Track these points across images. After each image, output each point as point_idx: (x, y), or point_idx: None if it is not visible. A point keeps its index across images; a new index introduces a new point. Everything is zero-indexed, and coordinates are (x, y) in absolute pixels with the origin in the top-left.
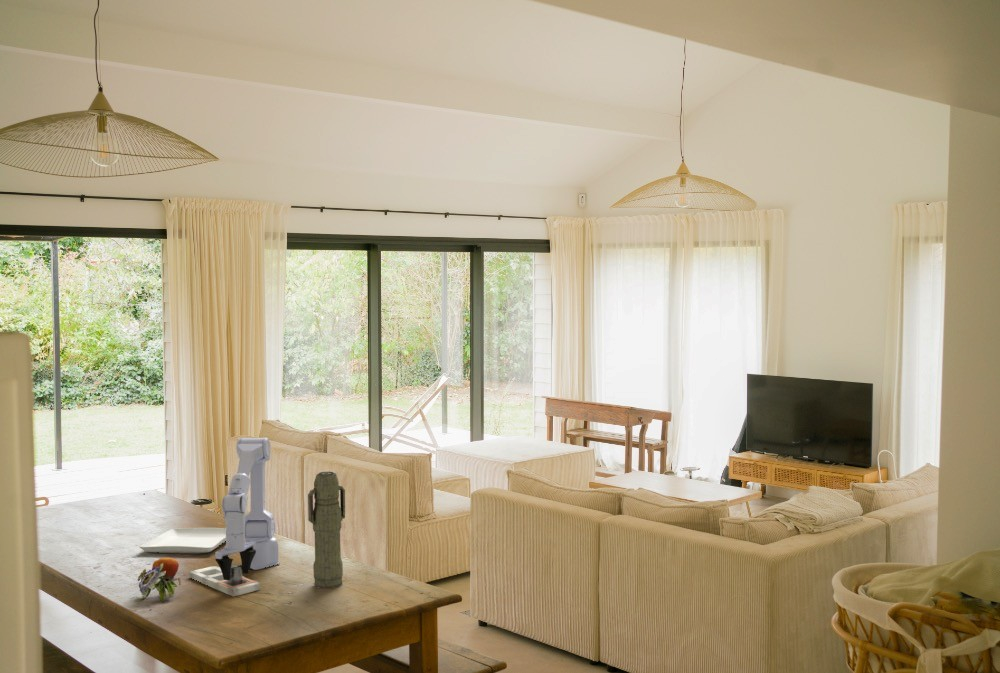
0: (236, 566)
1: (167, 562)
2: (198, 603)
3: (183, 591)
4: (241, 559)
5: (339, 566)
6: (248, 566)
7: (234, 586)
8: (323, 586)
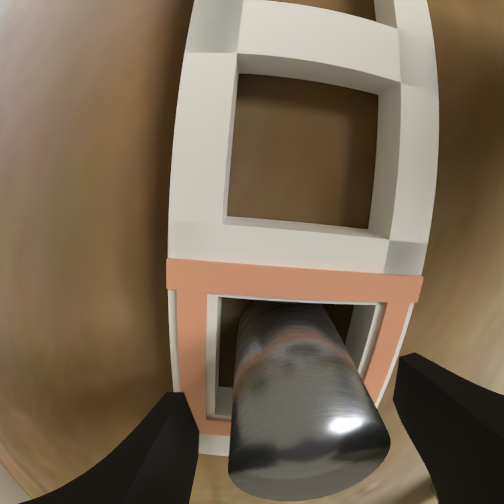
0: (315, 476)
1: None
2: (29, 360)
3: (36, 106)
4: (476, 422)
5: None
6: (418, 449)
7: (214, 430)
8: (433, 491)
